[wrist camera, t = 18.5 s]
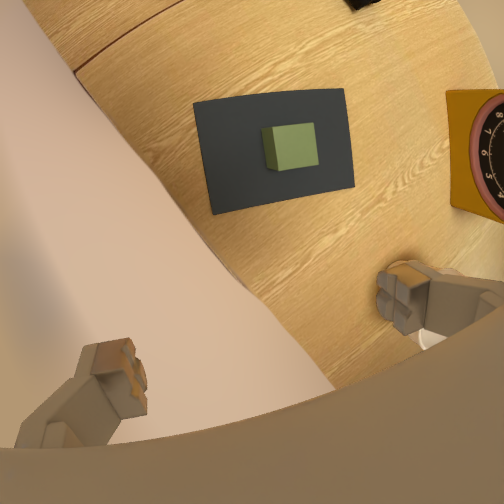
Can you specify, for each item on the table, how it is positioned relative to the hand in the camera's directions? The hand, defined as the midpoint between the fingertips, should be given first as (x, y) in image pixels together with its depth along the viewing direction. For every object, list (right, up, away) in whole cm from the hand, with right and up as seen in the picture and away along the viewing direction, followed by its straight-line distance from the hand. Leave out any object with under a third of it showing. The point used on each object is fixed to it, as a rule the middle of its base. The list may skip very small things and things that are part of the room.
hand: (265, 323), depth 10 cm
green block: (+3, +15, +29) cm, 33 cm away
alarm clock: (+38, +21, +37) cm, 57 cm away
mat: (+3, +16, +29) cm, 33 cm away
